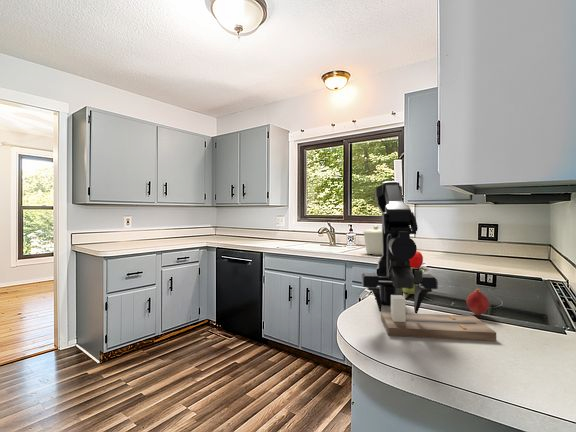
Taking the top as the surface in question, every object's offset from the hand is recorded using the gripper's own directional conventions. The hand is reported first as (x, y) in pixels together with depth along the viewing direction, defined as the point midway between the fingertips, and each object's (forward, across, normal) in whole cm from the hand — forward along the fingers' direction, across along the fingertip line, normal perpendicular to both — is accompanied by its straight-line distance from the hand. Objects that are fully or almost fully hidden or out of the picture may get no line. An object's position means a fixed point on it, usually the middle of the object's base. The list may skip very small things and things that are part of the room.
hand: (397, 312), depth 83 cm
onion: (+4, +26, +13) cm, 29 cm away
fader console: (+4, +9, 0) cm, 10 cm away
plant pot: (+4, +12, +38) cm, 40 cm away
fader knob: (+2, 0, 0) cm, 2 cm away
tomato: (+4, +26, +90) cm, 93 cm away
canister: (+4, +13, +143) cm, 144 cm away
